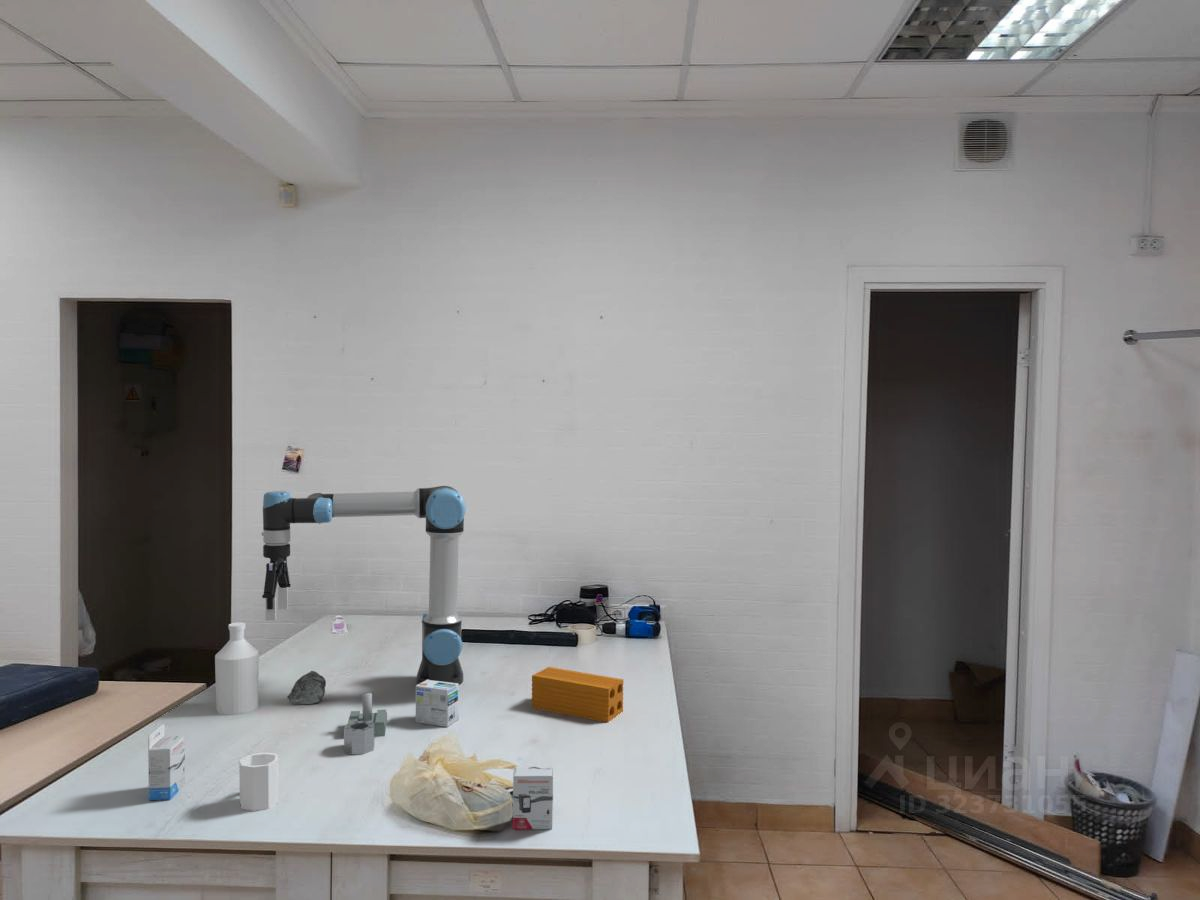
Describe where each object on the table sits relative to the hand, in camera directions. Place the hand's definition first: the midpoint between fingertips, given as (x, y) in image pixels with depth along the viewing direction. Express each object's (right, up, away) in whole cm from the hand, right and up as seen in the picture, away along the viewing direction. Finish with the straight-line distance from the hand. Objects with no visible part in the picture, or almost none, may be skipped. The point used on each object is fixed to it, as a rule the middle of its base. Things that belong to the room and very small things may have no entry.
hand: (277, 614), depth 251 cm
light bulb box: (+50, -29, -10) cm, 58 cm away
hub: (+33, -29, -31) cm, 54 cm away
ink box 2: (+82, -32, -70) cm, 112 cm away
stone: (+8, -28, +5) cm, 29 cm away
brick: (+89, -29, 0) cm, 94 cm away
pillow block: (+32, -29, -18) cm, 46 cm away
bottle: (-11, -28, -2) cm, 30 cm away
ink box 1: (-3, -30, -57) cm, 65 cm away
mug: (+20, -30, -60) cm, 70 cm away
